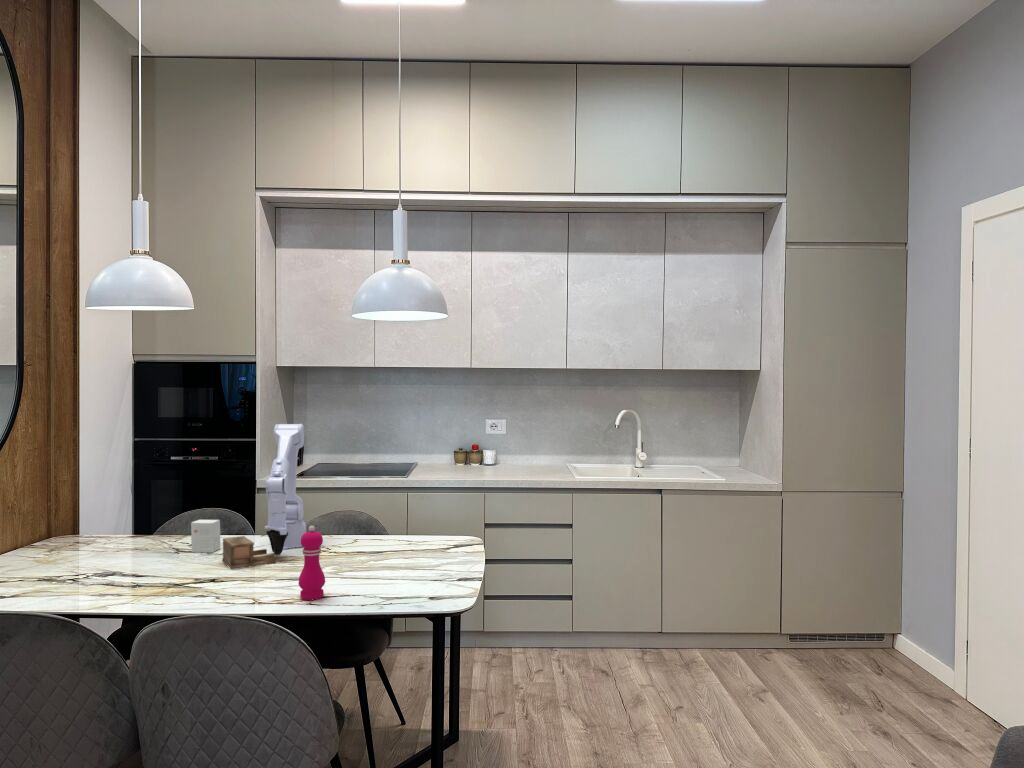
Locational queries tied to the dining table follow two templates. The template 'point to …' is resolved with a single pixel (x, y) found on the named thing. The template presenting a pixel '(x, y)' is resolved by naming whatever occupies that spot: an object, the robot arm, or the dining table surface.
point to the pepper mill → (311, 566)
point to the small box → (205, 535)
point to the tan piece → (246, 552)
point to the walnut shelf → (245, 562)
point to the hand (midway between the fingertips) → (277, 552)
